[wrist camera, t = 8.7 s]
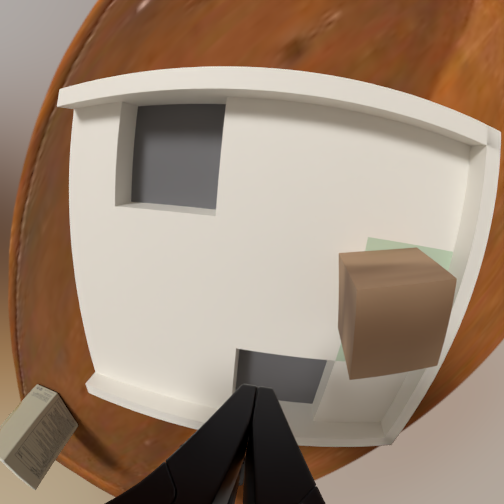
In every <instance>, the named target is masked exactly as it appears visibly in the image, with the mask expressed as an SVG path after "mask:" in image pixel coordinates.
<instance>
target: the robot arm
mask: <svg viewBox="0 0 504 504" xmlns="http://www.w3.org/2000/svg"><path fill="white" fill-rule="evenodd" d="M256 393H257V394H256ZM247 443H248V444H247ZM246 448H247V449H246ZM245 452H246V455H245ZM244 457H245V458H244ZM243 480H244V493H243V504H325V502H324V500H323V498H322V496H321V494H320V492H319V489H318V488H317V487H315V486H316V483H315V481H314V479H313V477H312V475H311V473H310V471H309V468H308V466H307V464H306V462H305V460H304V457H303V455H302V453H301V451H300V449H299V446H298V444H297V442H296V440H295V437H294V435H293V433H292V431H291V428H290V426H289V424H288V421H287V419H286V417H285V414H284V412H283V410H282V408H281V405H280V403H279V401H278V398H277V396H276V393H275V391H274V389H273V388H270V387H263V386H259V387H258V388H257V386H255V385H250V384H242V385H241V386H240V387H239V388H238V389H237V390H236V391H235V392H234V393H233V394H232V395H231V396H230V397H229V398H228V400H227V401H226V402H225V403H224V404H223V405H222V406H221V407H220V408H219V409H218V410H217V411H216V412H215V413H214V414H213V415H212V416H211V417H210V418H209V419H208V420H207V421H206V422H205V423H204V424H203V425H202V426H201V427H200V428H199V429H198V430H197V431H196V432H195V433H194V434H193V435H192V436H191V437H190V438H189V439H188V440H187V441H186V442H185V443H184V444H183V445H181V446H180V448H179V449H177V450H176V451H175V452H174V453H173V454H172V455H171V456H170V457H169V458H168V459H167V460H166V463H165V462H163V463H162V464H161V465H160V466H159V467H158V468H156V469H155V470H154V471H153V472H152V473H151V474H149V475H148V476H147V477H146V478H144V479H143V480H142V481H141V482H139V483H138V484H136V485H135V486H133V487H132V488H130V489H129V490H127V491H126V492H124V493H123V494H121V495H119V496H117V497H116V498H114V499H113V500H110V501H109V502H107V503H105V504H234V503H235V498H236V494H237V489H238V485H242V484H243Z"/></svg>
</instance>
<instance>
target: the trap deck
mask: <svg viewBox="0 0 504 504" xmlns="http://www.w3.org/2000/svg"><path fill="white" fill-rule="evenodd" d="M57 107H63V108H70V109H74V115H73V124H72V134H71V147H70V167H69V211H70V231H71V244H72V255H73V264H74V272H75V279H76V286H77V293H78V299H79V304H80V310H81V315H82V320H83V325H84V329H85V334H86V338H87V342H88V346H89V350H90V354H91V358H92V361H93V365H94V369H95V373H94V374H93V375H92V377H91V378H90V379H89V380H88V381H87V382H86V386H87V389H88V392H89V393H91V394H93V395H95V396H97V397H100V398H102V399H105V400H107V401H109V402H112V403H115V404H117V405H120V406H122V407H125V408H128V409H130V410H133V411H136V412H139V413H142V414H145V415H148V416H151V417H154V418H157V419H160V420H164V421H167V422H171V423H174V424H178V425H181V426H185V427H189V428H193V429H197V430H198V429H199V428H200V427H201V426H202V425H203V424H204V423H205V422H206V421H207V420H208V419H209V418H210V417H211V416H212V415H213V414H214V413H215V412H216V411H217V410H218V409H219V408H220V407H221V406H222V405H223V404H224V403H225V402H226V401H227V400H228V398H229V397H230V396H231V395H232V394H233V393H234V392H235V391H236V390H237V389H238V388H239V387H240V386H241V385H242V384H250V385H255V386H257V388H258V387H259V386H263V387H270V388H273V389H274V391H275V393H276V396H277V398H278V401H279V403H280V405H281V408H282V410H283V412H284V414H285V417H286V419H287V421H288V424H289V426H290V428H291V431H292V433H293V435H294V437H295V440H296V442H297V444H298V445H302V446H321V447H363V446H382V445H391V444H392V443H393V442H394V440H395V439H396V438H397V436H398V435H399V434H400V432H401V431H402V429H403V428H404V427H405V425H406V424H407V422H408V421H409V419H410V418H411V416H412V415H413V413H414V412H415V410H416V409H417V407H418V405H419V404H420V402H421V400H422V399H423V397H424V396H425V394H426V392H427V390H428V389H429V387H430V385H431V383H432V382H433V380H434V378H435V376H436V374H437V373H438V371H439V369H440V367H441V365H442V363H443V361H444V359H445V357H446V355H447V353H448V351H449V349H450V347H451V344H452V342H453V340H454V338H455V336H456V333H457V331H458V329H459V326H460V324H461V321H462V319H463V316H464V314H465V311H466V309H467V306H468V303H469V301H470V298H471V295H472V292H473V289H474V286H475V283H476V280H477V277H478V274H479V270H480V267H481V263H482V260H483V256H484V252H485V248H486V244H487V240H488V236H489V231H490V227H491V222H492V216H493V211H494V205H495V199H496V192H497V184H498V175H499V164H500V148H501V132H500V131H498V130H496V129H494V128H492V127H490V126H488V125H486V124H484V123H482V122H480V121H478V120H475V119H473V118H471V117H469V116H466V115H464V114H462V113H459V112H457V111H455V110H452V109H450V108H447V107H445V106H442V105H439V104H437V103H434V102H431V101H428V100H425V99H423V98H420V97H417V96H413V95H410V94H407V93H404V92H400V91H397V90H393V89H390V88H386V87H382V86H378V85H374V84H370V83H366V82H362V81H357V80H352V79H347V78H342V77H337V76H331V75H325V74H319V73H312V72H304V71H296V70H286V69H275V68H260V67H189V68H174V69H163V70H154V71H146V72H138V73H131V74H125V75H119V76H114V77H108V78H103V79H99V80H94V81H90V82H85V83H81V84H77V85H73V86H70V87H66V88H62V89H60V91H59V97H58V103H57ZM416 247H417V248H418V249H419V250H421V251H422V252H424V253H425V254H426V255H428V256H429V257H430V258H431V259H433V260H434V261H435V262H437V263H438V264H439V265H441V266H442V267H443V268H444V269H446V270H447V271H448V272H449V273H451V274H452V275H453V276H454V277H456V278H457V282H456V288H455V294H454V300H453V305H452V310H451V315H450V319H449V324H448V328H447V332H446V336H445V340H444V344H443V348H442V351H441V355H440V358H439V362H438V365H437V366H433V367H429V368H424V369H419V370H414V371H409V372H403V373H397V374H391V375H385V376H378V377H370V378H363V379H354V380H349V375H348V370H347V366H346V361H345V357H344V352H343V348H342V343H341V339H340V335H339V331H338V306H339V253H346V252H361V251H375V250H389V249H403V248H416ZM256 394H257V393H256Z"/></svg>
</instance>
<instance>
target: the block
mask: <svg viewBox="0 0 504 504" xmlns="http://www.w3.org/2000/svg"><path fill="white" fill-rule="evenodd" d="M456 282H457V278H456V277H454V276H453V275H452V274H451V273H449V272H448V271H447V270H446V269H444V268H443V267H442V266H441V265H439V264H438V263H437V262H435V261H434V260H433V259H431V258H430V257H429V256H428V255H426V254H425V253H424V252H422V251H421V250H419V249H418V248H417V247H416V248H403V249H389V250H375V251H361V252H346V253H339V306H338V331H339V335H340V339H341V343H342V348H343V352H344V357H345V361H346V366H347V370H348V375H349V380H354V379H363V378H370V377H378V376H385V375H391V374H397V373H403V372H409V371H414V370H419V369H424V368H429V367H433V366H437V365H438V362H439V358H440V355H441V351H442V348H443V344H444V340H445V336H446V332H447V328H448V324H449V319H450V315H451V310H452V305H453V300H454V294H455V288H456Z"/></svg>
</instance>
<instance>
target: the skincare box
mask: <svg viewBox="0 0 504 504" xmlns="http://www.w3.org/2000/svg"><path fill="white" fill-rule="evenodd" d="M77 427H78V424H77V422H76V421H75V419H74V418H73V416H72V415H71V414H70V412H69V410H68V409H67V407H66V406H65V404H64V403H63V401H62V400H61V398H60V396H59V395H58V393H56V392H54V391H52V390H49V389H47V388H45V387H42V386H40V385H38V384H37V385H36V386H35V387H34V388H33V389H32V390H31V392H30V393H29V394H28V395H27V396H26V397H25V398H24V399H23V400H22V402H21V403H20V404H19V405H18V406H17V407H16V408H15V410H14V411H13V412H12V413H11V414H10V415H9V416H8V418H7V419H6V420H5V421H4V422H3V423H2V425H1V426H0V460H1V461H2V462H3V463H4V465H5V466H7V467H8V468H9V469H10V470H11V471H12V472H13V473H14V474H15V475H16V476H17V477H18V478H19V479H21V480H22V481H23V482H24V483H26V484H27V485H28V486H30V487H31V488H32V489H35V490H36V489H37V487H38V486H39V484H40V482H41V481H42V479H43V478H44V476H45V475H46V473H47V471H48V470H49V469H50V467H51V465H52V464H53V462H54V461H55V459H56V458H57V456H58V455H59V453H60V452H61V450H62V449H63V448H64V446H65V445H66V443H67V442H68V440H69V439H70V437H71V436H72V434H73V433H74V431H75V430H76V429H77Z"/></svg>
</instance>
